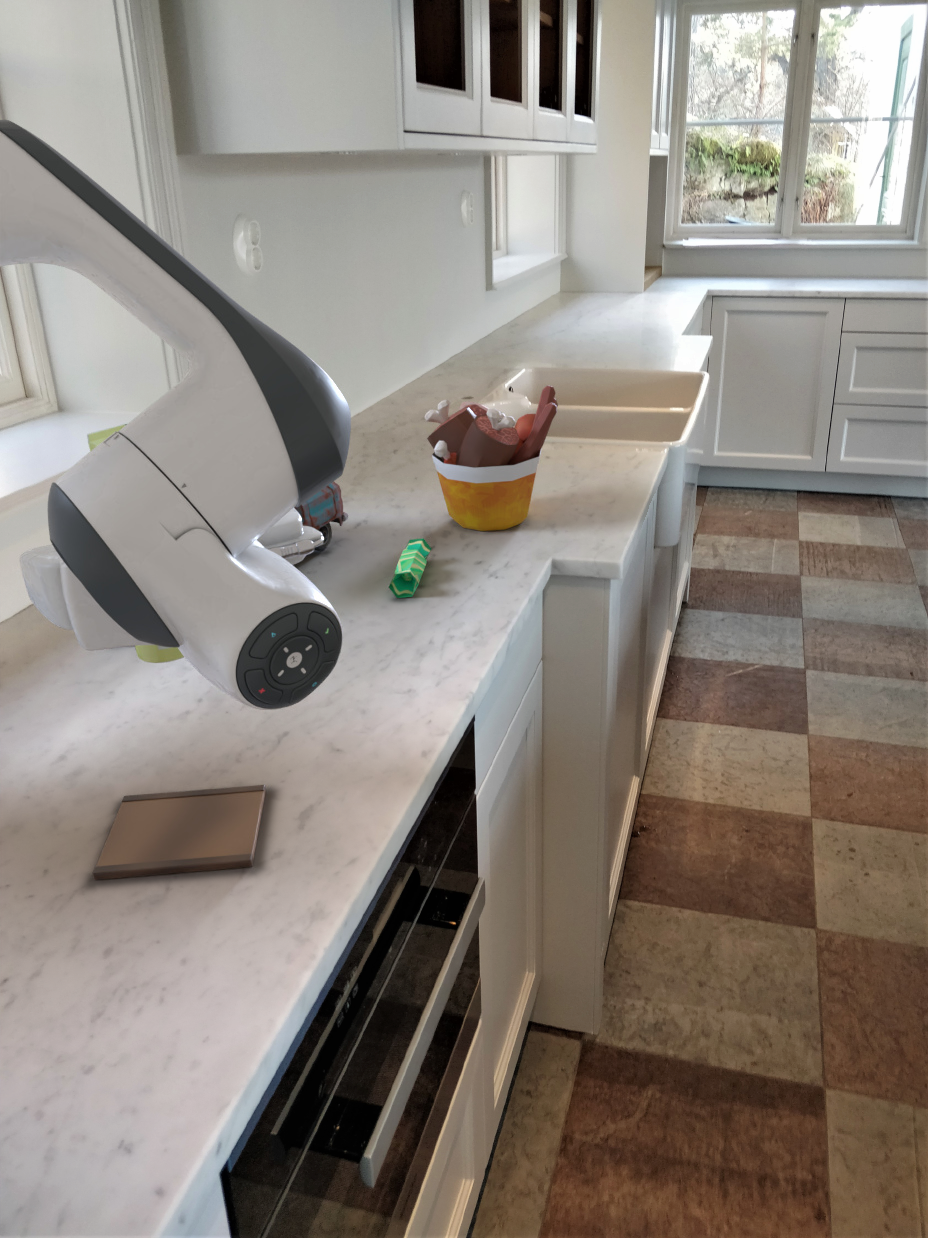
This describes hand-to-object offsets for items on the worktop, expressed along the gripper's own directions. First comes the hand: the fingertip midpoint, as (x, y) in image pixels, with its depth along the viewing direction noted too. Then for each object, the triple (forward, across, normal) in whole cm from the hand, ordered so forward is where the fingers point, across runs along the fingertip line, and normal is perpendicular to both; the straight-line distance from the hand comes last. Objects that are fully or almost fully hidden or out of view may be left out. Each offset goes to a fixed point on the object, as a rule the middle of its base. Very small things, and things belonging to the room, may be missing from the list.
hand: (141, 526), depth 77 cm
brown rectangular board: (-9, +4, +23) cm, 25 cm away
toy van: (+41, -22, +23) cm, 52 cm away
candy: (+25, -38, +23) cm, 51 cm away
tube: (-1, 0, +11) cm, 11 cm away
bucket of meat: (+37, -60, +23) cm, 74 cm away
